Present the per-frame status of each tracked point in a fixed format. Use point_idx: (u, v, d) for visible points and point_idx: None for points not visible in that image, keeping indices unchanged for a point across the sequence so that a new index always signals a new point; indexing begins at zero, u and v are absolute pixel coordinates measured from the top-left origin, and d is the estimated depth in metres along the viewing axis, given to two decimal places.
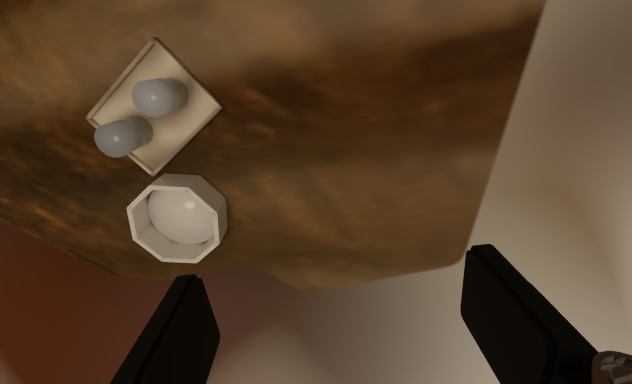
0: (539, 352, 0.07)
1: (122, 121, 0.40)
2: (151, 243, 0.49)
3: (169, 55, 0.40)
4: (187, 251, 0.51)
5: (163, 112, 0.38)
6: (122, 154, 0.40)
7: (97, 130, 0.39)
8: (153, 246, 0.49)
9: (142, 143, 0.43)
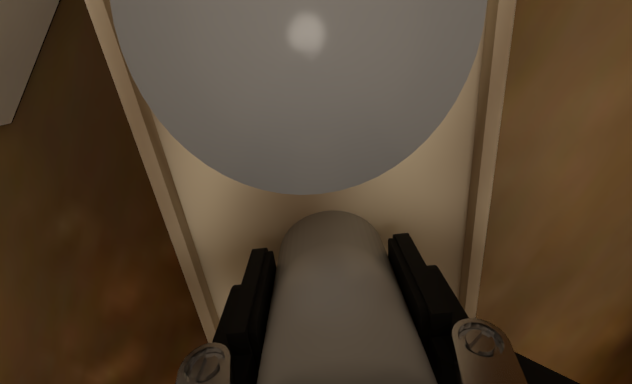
0: (419, 321, 0.08)
1: None
2: None
3: None
4: None
5: None
6: (126, 0, 0.03)
7: None
8: None
9: None
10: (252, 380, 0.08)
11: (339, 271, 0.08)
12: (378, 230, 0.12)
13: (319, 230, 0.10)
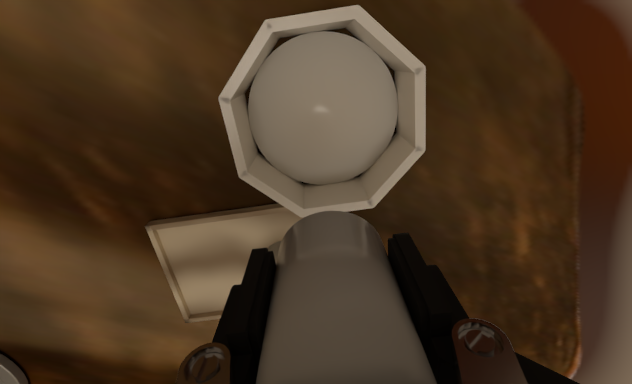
0: (419, 321, 0.08)
1: None
2: (410, 114, 0.21)
3: (178, 302, 0.31)
4: (371, 42, 0.20)
5: None
6: None
7: None
8: (411, 108, 0.21)
9: None
10: (252, 380, 0.08)
11: (339, 271, 0.08)
12: (223, 283, 0.31)
13: (319, 231, 0.10)
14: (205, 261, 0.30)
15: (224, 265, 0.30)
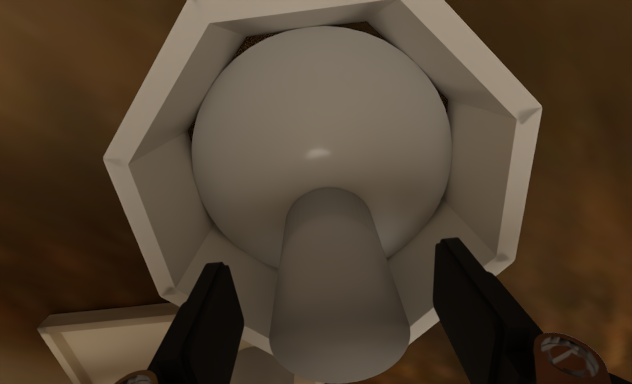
0: (489, 335, 0.07)
1: None
2: (487, 190, 0.11)
3: None
4: (421, 50, 0.10)
5: (274, 347, 0.10)
6: None
7: None
8: (492, 180, 0.11)
9: None
10: None
11: (331, 232, 0.11)
12: None
13: (316, 204, 0.13)
14: None
15: None
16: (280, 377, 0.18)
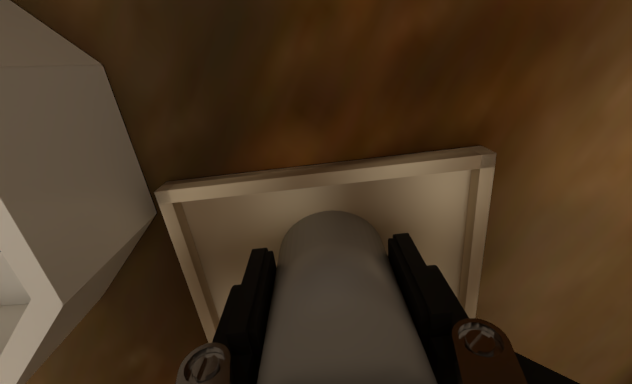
0: (419, 321, 0.08)
1: None
2: None
3: None
4: None
5: None
6: None
7: None
8: None
9: None
10: (252, 380, 0.08)
11: None
12: None
13: None
14: None
15: None
16: (289, 250, 0.11)
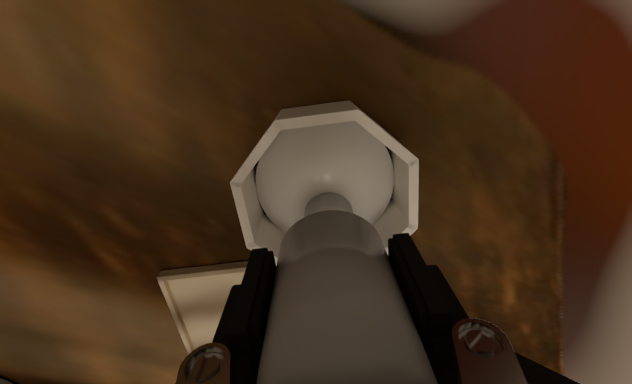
0: (419, 321, 0.08)
1: None
2: (404, 194, 0.23)
3: (185, 343, 0.33)
4: None
5: None
6: None
7: None
8: (405, 190, 0.23)
9: None
10: (252, 380, 0.08)
11: None
12: None
13: (318, 201, 0.25)
14: (211, 307, 0.32)
15: None
16: (289, 250, 0.10)
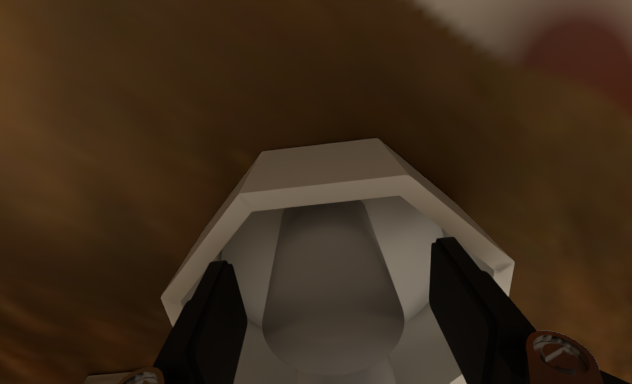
0: (483, 333, 0.07)
1: None
2: None
3: None
4: None
5: None
6: (268, 322, 0.09)
7: (398, 316, 0.09)
8: None
9: None
10: None
11: None
12: None
13: None
14: None
15: None
16: (289, 213, 0.13)
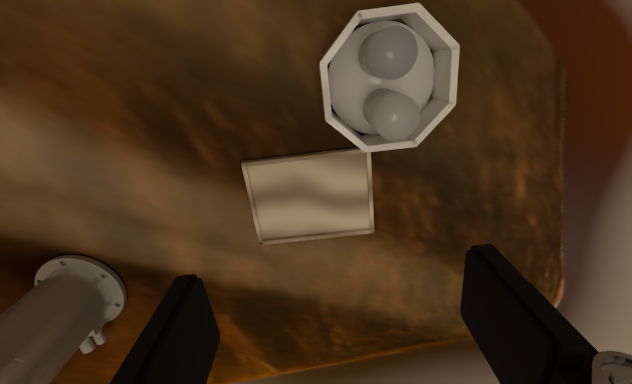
0: (539, 352, 0.07)
1: None
2: (445, 79, 0.31)
3: (256, 227, 0.41)
4: (422, 28, 0.30)
5: (377, 127, 0.29)
6: (370, 50, 0.27)
7: (416, 48, 0.27)
8: (447, 74, 0.30)
9: (363, 63, 0.30)
10: None
11: (384, 93, 0.31)
12: (291, 213, 0.41)
13: (375, 93, 0.33)
14: (280, 194, 0.40)
15: (294, 198, 0.40)
16: (367, 38, 0.31)
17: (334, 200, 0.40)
